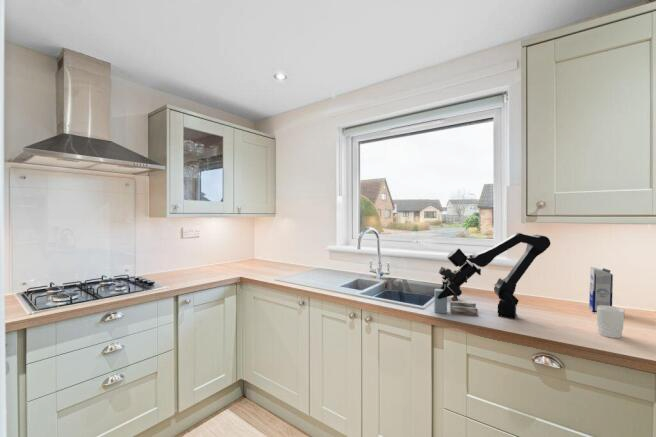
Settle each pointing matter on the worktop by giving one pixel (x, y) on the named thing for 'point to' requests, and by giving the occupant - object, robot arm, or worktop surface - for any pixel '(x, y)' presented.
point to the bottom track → (463, 308)
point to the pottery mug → (454, 298)
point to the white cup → (610, 321)
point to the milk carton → (600, 288)
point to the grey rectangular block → (439, 302)
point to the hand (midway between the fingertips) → (437, 297)
